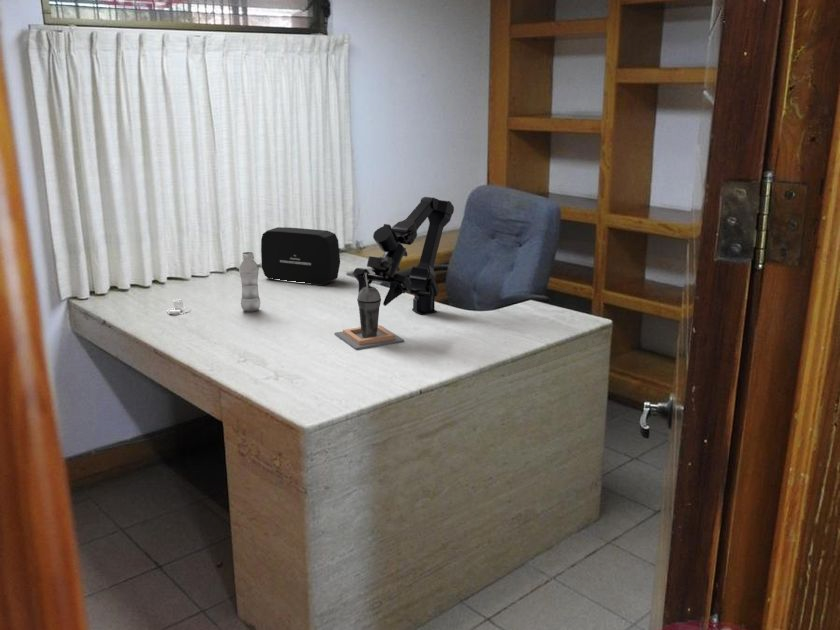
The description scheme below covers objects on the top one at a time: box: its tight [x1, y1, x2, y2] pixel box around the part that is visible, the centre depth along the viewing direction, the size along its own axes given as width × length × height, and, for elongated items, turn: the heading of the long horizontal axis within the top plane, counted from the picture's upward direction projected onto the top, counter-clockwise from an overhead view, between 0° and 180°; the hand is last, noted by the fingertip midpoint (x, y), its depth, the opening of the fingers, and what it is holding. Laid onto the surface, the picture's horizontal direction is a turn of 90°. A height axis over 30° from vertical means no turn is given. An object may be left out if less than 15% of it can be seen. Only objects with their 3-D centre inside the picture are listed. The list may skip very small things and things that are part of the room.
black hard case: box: [260, 226, 341, 286], centre depth 303 cm, size 30×12×20 cm, turn 69°
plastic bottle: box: [238, 251, 261, 312], centre depth 262 cm, size 6×7×20 cm
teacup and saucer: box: [168, 298, 184, 315], centre depth 263 cm, size 9×8×4 cm
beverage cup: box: [356, 273, 382, 338], centre depth 235 cm, size 7×7×20 cm
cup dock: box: [334, 324, 405, 351], centre depth 237 cm, size 16×16×2 cm
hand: (371, 302), depth 236 cm, fingers open, 9 cm apart
